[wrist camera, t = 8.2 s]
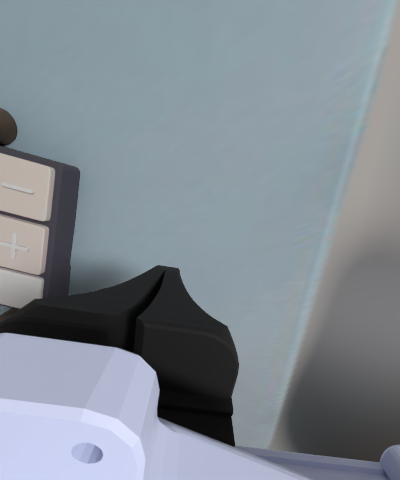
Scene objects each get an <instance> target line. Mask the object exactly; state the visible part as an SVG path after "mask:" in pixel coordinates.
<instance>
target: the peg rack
mask: <svg viewBox="0 0 400 480" xmlns="http://www.w3.org/2000/svg"><path fill="white" fill-rule="evenodd" d="M16 135H17V126H16V123H15V121H14V119H13V117H12V116H11V115H10V114H9V113H8V112H7V111H5V110H3V109H1V108H0V144H9V143H11V142H13V141H14V140H15V138H16ZM18 310H19V309H16V308H12V309H10V310H8V311H7V312H5V313H4V314H2V315H1V316H0V322H1V321H3V320H4V319H6V318H7V317H9V316H10V315H12V314H13V313H15V312H16V311H18Z"/></svg>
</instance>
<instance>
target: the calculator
mask: <svg viewBox="0 0 400 480" xmlns="http://www.w3.org/2000/svg"><path fill="white" fill-rule="evenodd" d="M79 179H80V171H79V169H78V168H76V167H74V166H70V165H67V164H63V163H60V162H56V161H52V160H49V159H45V158H42V157H38V156H35V155H31V154H28V153H24V152H21V151H17V150H14V149H10V148H6V147H3V146H0V305H3V306H7V307H12V308H16V309H21V308H22V307H24V306H25V305H26V304H28V303H29V302H31V301H32V300H34V299H42V298H53V297H64V296H68V289H69V279H70V269H71V267H70V256H71V249H72V241H73V234H74V227H75V218H76V209H77V199H78V189H79Z"/></svg>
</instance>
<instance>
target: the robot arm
mask: <svg viewBox="0 0 400 480" xmlns="http://www.w3.org/2000/svg"><path fill="white" fill-rule="evenodd" d="M238 369H239V362H238V356H237V352H236V348H235V345H234V342H233V339H232V337H231V334H230V332H229V329H228V327H227V326H226V325H224V324H222V323H221V322H219V321H217V320H216V319H214V318H212V317H211V316H210V315H208V314H207V313H206V312H205V311H203V310H202V309H201V308H200V307H199V306H198V305H197V304H196V303H195V302H194V301H193V299H192V298H191V297H190V295H189V294H188V292H187V290H186V288H185V286H184V284H183V282H182V279H181V276H180V270H179V269H178V268H173V267H167V266H160V265H157V266H155V267H154V268H152V269H150V270H148V271H147V272H145V273H143V274H141V275H139V276H137V277H135V278H133V279H131V280H129V281H126V282H124V283H121V284H118V285H116V286H113V287H109V288H105V289H102V290H98V291H94V292H89V293H84V294H78V295H71V296H64V297H53V298H42V299H34V300H32V301H31V302H29V303H28V304H26V305H25V306H24V307H22V308H21V309H19V310H18V311H16V312H15V313H13V314H12V315H10V316H9V317H7V318H6V319H4V320H3V321H1V322H0V480H400V445H394V446H391V447H389V448H387V449H386V450H385V451H384V453H383V455H382V457H381V459H380V463H378V462H370V461H361V460H353V459H344V458H335V457H327V456H318V455H310V454H301V453H293V452H285V451H276V450H268V449H259V448H251V447H242V446H235V441H234V434H233V426H232V419H231V416H232V414H233V405H232V398H231V396H232V393H233V389H234V386H235V382H236V379H237V375H238Z"/></svg>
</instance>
